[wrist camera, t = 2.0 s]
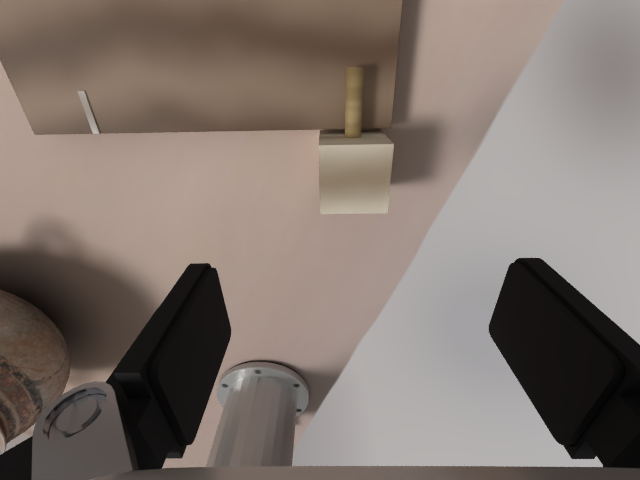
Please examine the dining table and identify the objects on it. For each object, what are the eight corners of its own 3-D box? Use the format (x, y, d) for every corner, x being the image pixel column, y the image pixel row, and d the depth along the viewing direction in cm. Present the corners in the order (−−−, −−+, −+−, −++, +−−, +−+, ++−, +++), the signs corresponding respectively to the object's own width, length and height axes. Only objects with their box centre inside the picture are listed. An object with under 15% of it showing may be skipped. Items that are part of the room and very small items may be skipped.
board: (386, 124, 25) (391, 128, 23) (54, 130, 25) (33, 134, 24) (402, -77, 19) (411, -93, 17) (-29, -63, 20) (-65, -77, 18)
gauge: (375, 186, 28) (387, 213, 22) (321, 187, 28) (320, 213, 22) (384, 67, 23) (401, 65, 18) (318, 68, 23) (317, 67, 18)
